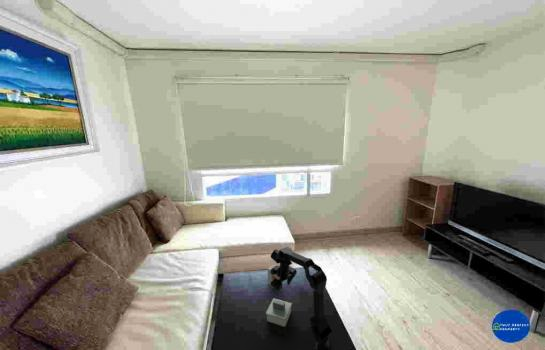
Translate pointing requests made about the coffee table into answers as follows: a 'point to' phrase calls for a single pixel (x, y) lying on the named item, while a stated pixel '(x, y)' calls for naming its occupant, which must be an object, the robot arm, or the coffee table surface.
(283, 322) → the storage box
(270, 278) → the small box
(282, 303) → the lid
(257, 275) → the coffee table surface
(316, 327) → the robot arm
